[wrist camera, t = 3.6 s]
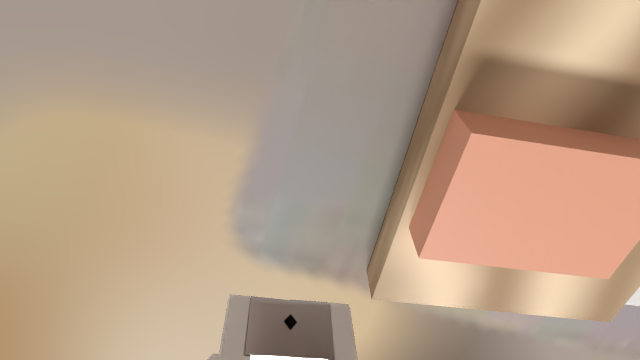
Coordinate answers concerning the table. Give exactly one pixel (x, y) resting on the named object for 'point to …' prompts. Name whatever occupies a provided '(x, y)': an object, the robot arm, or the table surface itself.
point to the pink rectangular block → (530, 197)
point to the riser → (528, 105)
